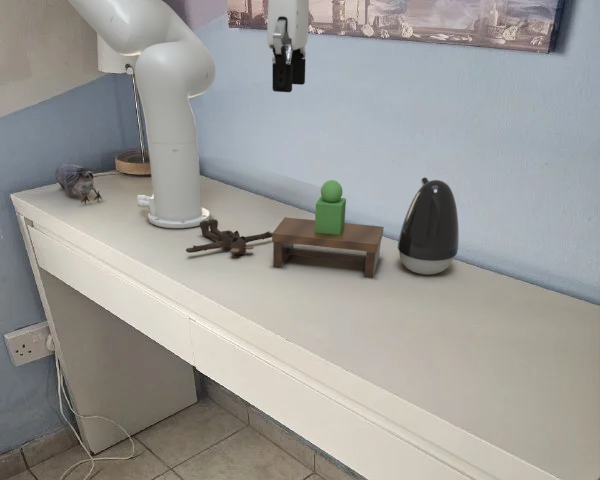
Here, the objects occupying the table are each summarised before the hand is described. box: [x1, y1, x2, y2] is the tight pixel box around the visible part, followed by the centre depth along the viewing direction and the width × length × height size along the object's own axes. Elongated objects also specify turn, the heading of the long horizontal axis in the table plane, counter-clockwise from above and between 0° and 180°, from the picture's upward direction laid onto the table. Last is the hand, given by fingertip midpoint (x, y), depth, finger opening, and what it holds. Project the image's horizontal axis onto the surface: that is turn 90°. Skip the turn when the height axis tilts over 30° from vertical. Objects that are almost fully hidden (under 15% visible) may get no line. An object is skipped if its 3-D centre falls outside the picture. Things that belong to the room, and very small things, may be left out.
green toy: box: [314, 179, 347, 235], centre depth 104 cm, size 4×4×8 cm
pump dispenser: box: [397, 177, 460, 276], centre depth 104 cm, size 10×10×15 cm
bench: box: [271, 216, 384, 279], centre depth 108 cm, size 18×9×6 cm, turn 77°
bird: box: [55, 163, 103, 205], centre depth 137 cm, size 5×16×7 cm, turn 43°
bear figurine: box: [185, 218, 273, 256], centre depth 114 cm, size 18×4×14 cm
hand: (289, 87), depth 105 cm, fingers open, 9 cm apart
